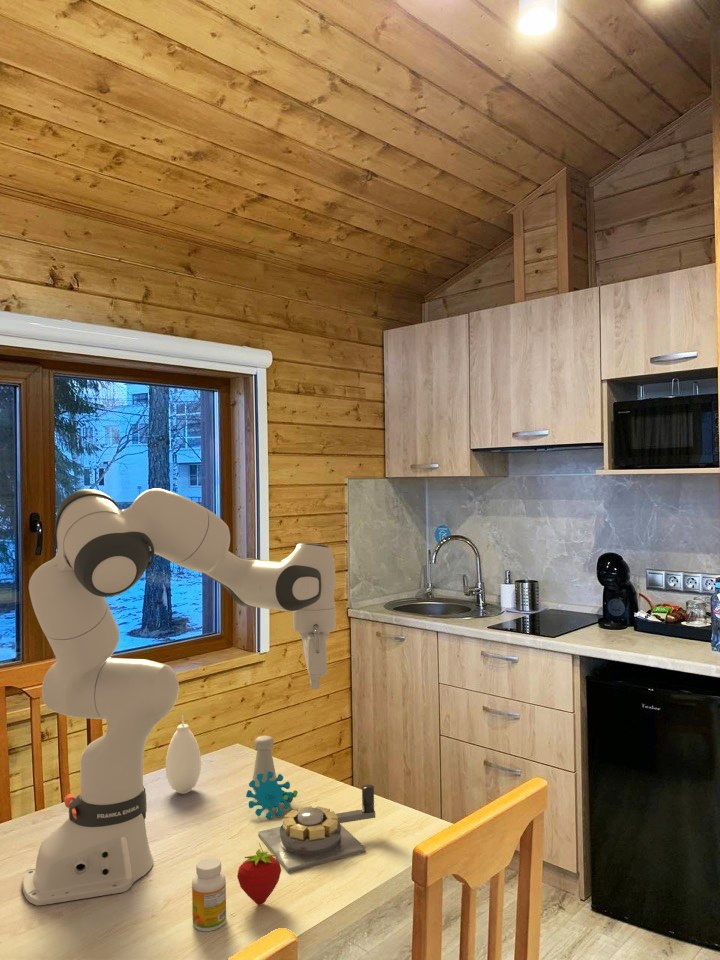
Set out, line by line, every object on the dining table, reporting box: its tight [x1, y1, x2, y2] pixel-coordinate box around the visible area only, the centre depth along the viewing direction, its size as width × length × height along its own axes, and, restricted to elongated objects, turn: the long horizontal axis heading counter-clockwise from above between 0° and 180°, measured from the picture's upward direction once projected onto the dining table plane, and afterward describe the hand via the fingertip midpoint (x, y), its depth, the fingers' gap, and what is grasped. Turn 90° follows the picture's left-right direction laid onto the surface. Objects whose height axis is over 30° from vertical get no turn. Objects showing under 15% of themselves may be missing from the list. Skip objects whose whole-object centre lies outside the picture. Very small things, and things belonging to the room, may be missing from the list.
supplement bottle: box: [191, 856, 227, 932], centre depth 123 cm, size 5×5×10 cm
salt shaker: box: [251, 735, 279, 794], centre depth 172 cm, size 6×6×13 cm
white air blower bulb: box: [165, 714, 202, 795], centre depth 173 cm, size 8×8×18 cm
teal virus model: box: [245, 771, 299, 820], centre depth 164 cm, size 11×6×10 cm
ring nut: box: [282, 784, 376, 841], centre depth 150 cm, size 10×18×6 cm, turn 108°
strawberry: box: [236, 842, 282, 906], centre depth 128 cm, size 6×8×10 cm
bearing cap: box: [257, 807, 367, 873], centre depth 149 cm, size 16×16×6 cm
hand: (314, 687), depth 156 cm, fingers closed
